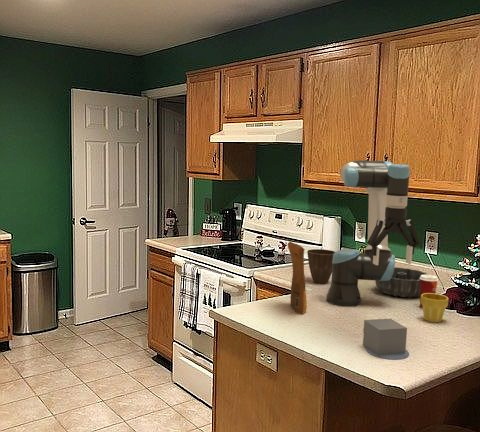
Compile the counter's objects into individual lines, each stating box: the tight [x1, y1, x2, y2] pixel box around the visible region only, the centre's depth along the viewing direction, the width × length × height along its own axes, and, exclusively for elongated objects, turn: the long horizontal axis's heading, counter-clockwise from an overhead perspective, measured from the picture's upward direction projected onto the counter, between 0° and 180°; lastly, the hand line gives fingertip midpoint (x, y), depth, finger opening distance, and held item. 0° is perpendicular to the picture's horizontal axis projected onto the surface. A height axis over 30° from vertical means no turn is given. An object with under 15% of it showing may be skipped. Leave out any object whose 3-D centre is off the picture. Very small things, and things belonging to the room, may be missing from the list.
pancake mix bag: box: [287, 241, 308, 315], centre depth 219 cm, size 7×19×28 cm, turn 6°
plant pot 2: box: [421, 293, 449, 323], centre depth 211 cm, size 10×10×10 cm
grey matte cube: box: [362, 318, 408, 355], centre depth 176 cm, size 10×10×9 cm
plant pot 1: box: [307, 248, 336, 285], centre depth 267 cm, size 15×15×16 cm
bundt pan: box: [374, 266, 430, 299], centre depth 251 cm, size 26×26×10 cm
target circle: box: [365, 347, 410, 361], centre depth 175 cm, size 14×14×1 cm
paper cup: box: [419, 274, 439, 309], centre depth 228 cm, size 8×8×14 cm
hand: (392, 263), depth 193 cm, fingers open, 13 cm apart
